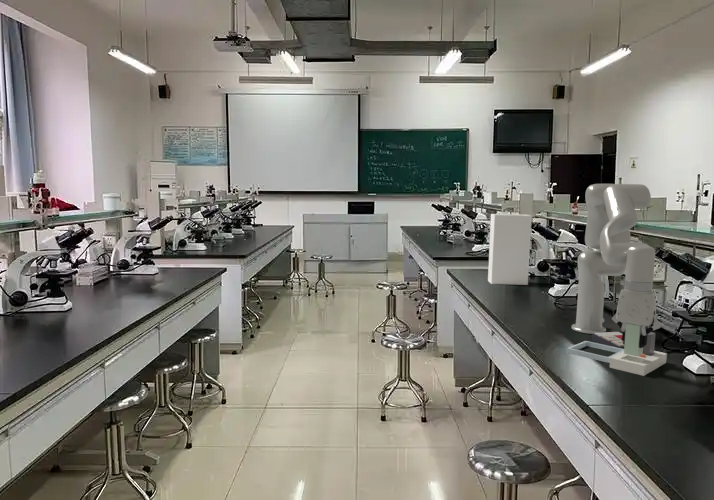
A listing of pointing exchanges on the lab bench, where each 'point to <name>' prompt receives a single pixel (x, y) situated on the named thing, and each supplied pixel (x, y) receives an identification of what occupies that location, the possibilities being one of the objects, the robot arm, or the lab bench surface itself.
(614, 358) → the power strip
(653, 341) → the dark gray block
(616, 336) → the calculator
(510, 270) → the storage box
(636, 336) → the sage plug
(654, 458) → the lab bench surface
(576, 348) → the light blue square frame
